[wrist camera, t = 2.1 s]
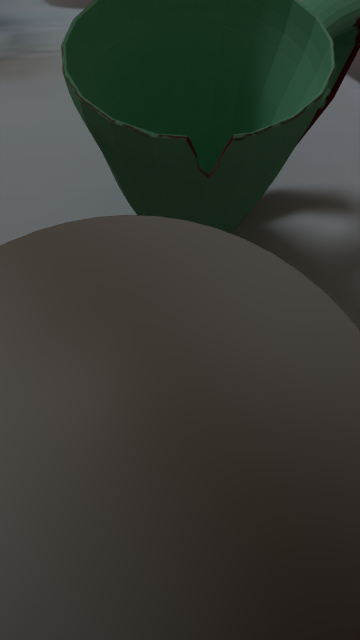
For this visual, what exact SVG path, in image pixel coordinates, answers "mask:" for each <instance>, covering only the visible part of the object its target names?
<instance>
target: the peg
mask: <svg viewBox="0 0 360 640" xmlns="http://www.w3.org/2000/svg"><path fill="white" fill-rule="evenodd" d="M0 640H360V331H359V329H358V328H357V327H356V325H355V324H354V323H353V321H352V320H351V319H350V318H349V317H348V316H347V315H346V314H345V312H344V311H343V310H342V309H341V308H340V307H339V306H338V305H337V304H336V303H335V302H334V301H333V300H332V299H331V298H330V297H329V296H328V295H327V294H326V293H325V292H324V291H323V290H322V289H320V288H319V287H318V286H317V285H316V284H314V283H313V282H312V281H311V280H309V279H308V278H307V277H306V276H305V275H303V274H302V273H301V272H300V271H299V270H297V269H295V268H294V267H292V266H291V265H289V264H288V263H286V262H285V261H283V260H282V259H280V258H279V257H277V256H276V255H274V254H273V253H271V252H269V251H267V250H265V249H263V248H261V247H259V246H257V245H255V244H253V243H251V242H249V241H247V240H245V239H243V238H241V237H238V236H235V235H233V234H230V233H227V232H225V231H222V230H219V229H217V228H214V227H210V226H206V225H202V224H198V223H194V222H190V221H186V220H180V219H173V218H166V217H159V216H138V215H121V216H107V217H95V218H89V219H83V220H78V221H72V222H66V223H63V224H59V225H56V226H52V227H49V228H45V229H42V230H38V231H35V232H32V233H30V234H27V235H25V236H22V237H20V238H17V239H15V240H12V241H10V242H7V243H5V244H3V245H1V246H0Z"/></svg>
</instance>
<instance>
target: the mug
mask: <svg viewBox="0 0 360 640" xmlns="http://www.w3.org/2000/svg"><path fill="white" fill-rule="evenodd" d="M359 48H360V0H304V1H302V2H300V1H299V0H94V1H93V2H91V3H90V4H89V5H88V6H87V7H86V8H85V9H84V10H83V11H82V12H81V13H80V14H79V15H78V16H77V17H75V18H74V19H73V21H72V23H71V25H70V27H69V30H68V32H67V34H66V36H65V38H64V40H63V42H62V45H61V52H62V70H63V75H64V78H65V81H66V84H67V87H68V90H69V93H70V95H71V98H72V100H73V102H74V105H75V106H76V108H77V110H78V112H79V114H80V115H81V117H82V119H83V121H84V122H85V124H86V126H87V128H88V129H89V131H90V133H91V134H92V136H93V138H94V139H95V141H96V143H97V144H98V146H99V148H100V149H101V151H102V153H103V155H104V157H105V159H106V161H107V163H108V165H109V167H110V169H111V171H112V173H113V175H114V178H115V180H116V182H117V184H118V186H119V187H120V189H121V191H122V192H123V194H124V196H125V197H126V199H127V201H128V203H129V204H130V205H131V207H132V208H133V210H134V211H135V212H136V214H137V215H138V216H159V217H166V218H173V219H180V220H186V221H190V222H194V223H198V224H202V225H206V226H210V227H214V228H217V229H219V230H222V231H225V232H227V233H230V232H231V231H232V230H233V229H234V228H236V227H237V226H238V225H239V224H240V222H241V221H242V220H243V219H244V218H245V216H246V215H247V214H248V213H249V212H250V211H251V209H252V208H253V207H254V206H255V205H256V204H257V202H258V201H259V200H260V198H261V197H262V196H263V194H264V193H265V192H266V190H267V189H268V187H269V186H270V185H271V183H272V182H273V180H274V179H275V178H276V176H277V175H278V173H279V172H280V170H281V169H282V167H283V165H284V164H285V162H286V161H287V159H288V157H289V156H290V154H291V153H292V151H293V150H294V148H295V147H296V145H297V144H298V143H299V142H300V140H301V139H302V138H303V136H304V135H305V134H306V133H307V131H308V130H309V129H310V128H311V126H312V125H313V124H314V123H315V121H316V120H317V119H318V118H319V116H320V115H321V114H322V112H323V111H324V110H325V109H326V107H327V106H328V105H329V104H330V102H331V101H332V100H333V98H334V97H335V95H336V93H337V91H338V89H339V87H340V85H341V83H342V81H343V79H344V77H345V75H346V73H347V71H348V69H349V67H350V66H351V64H352V62H353V60H354V58H355V56H356V54H357V52H358V50H359Z"/></svg>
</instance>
